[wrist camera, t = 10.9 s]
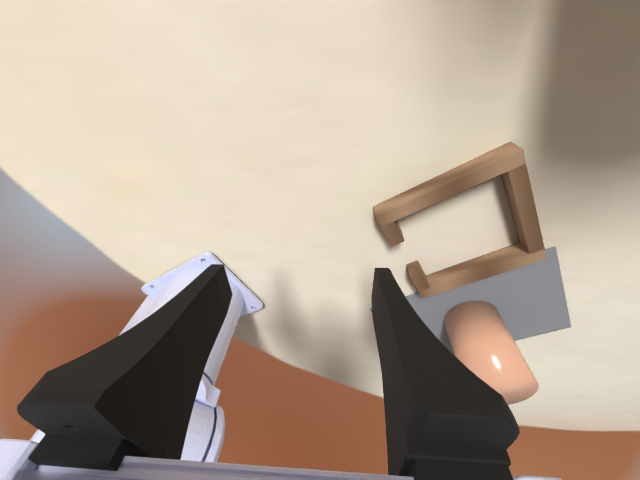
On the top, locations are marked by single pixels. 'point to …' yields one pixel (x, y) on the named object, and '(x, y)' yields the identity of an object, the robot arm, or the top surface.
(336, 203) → the top surface
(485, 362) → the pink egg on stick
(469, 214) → the top surface
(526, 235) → the holder
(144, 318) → the robot arm
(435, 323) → the mat
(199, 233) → the top surface
